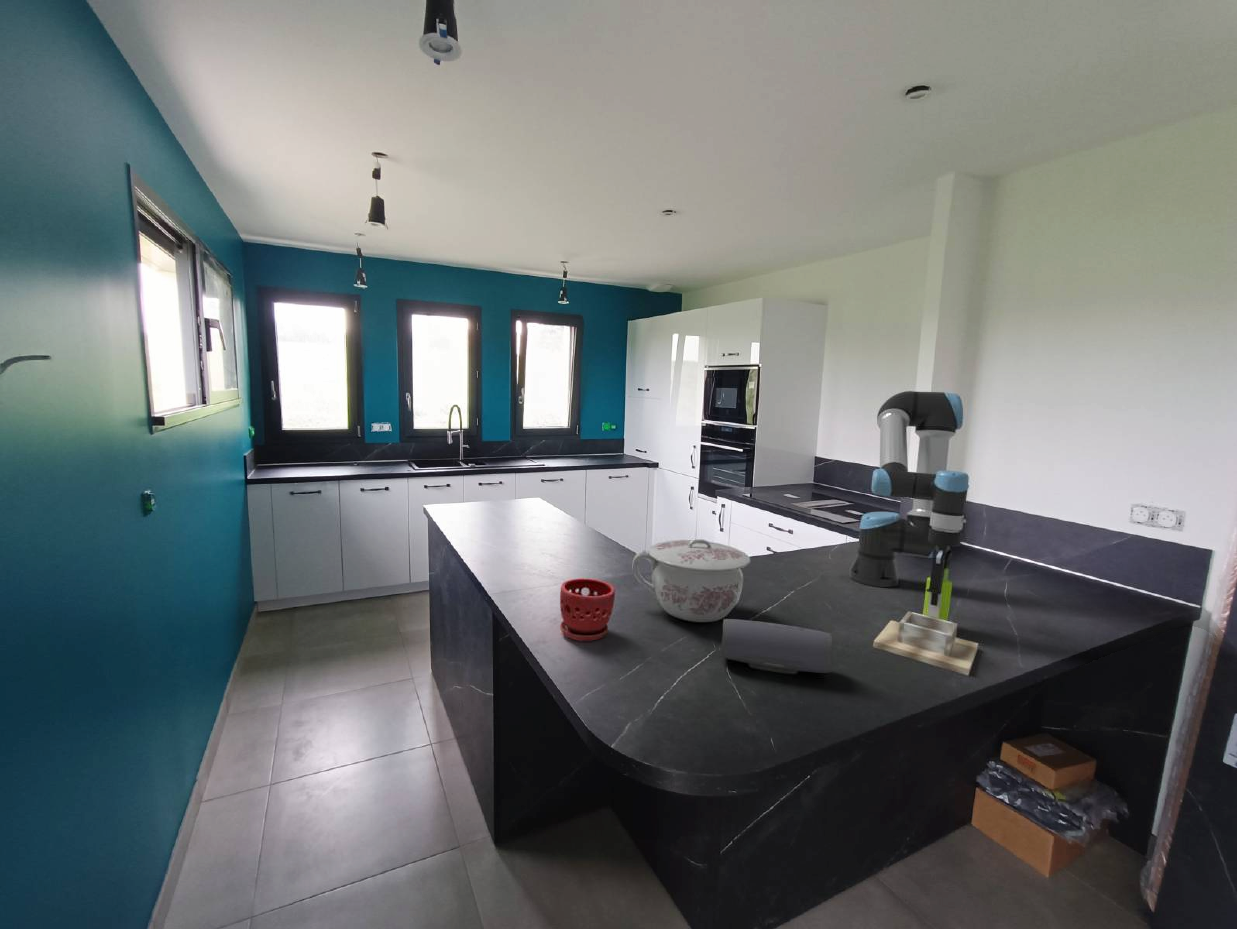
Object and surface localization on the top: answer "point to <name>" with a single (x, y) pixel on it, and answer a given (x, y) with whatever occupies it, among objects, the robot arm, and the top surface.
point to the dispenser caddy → (928, 642)
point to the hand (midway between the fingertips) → (934, 612)
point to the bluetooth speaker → (776, 646)
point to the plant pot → (586, 609)
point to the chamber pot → (694, 578)
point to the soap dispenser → (944, 598)
